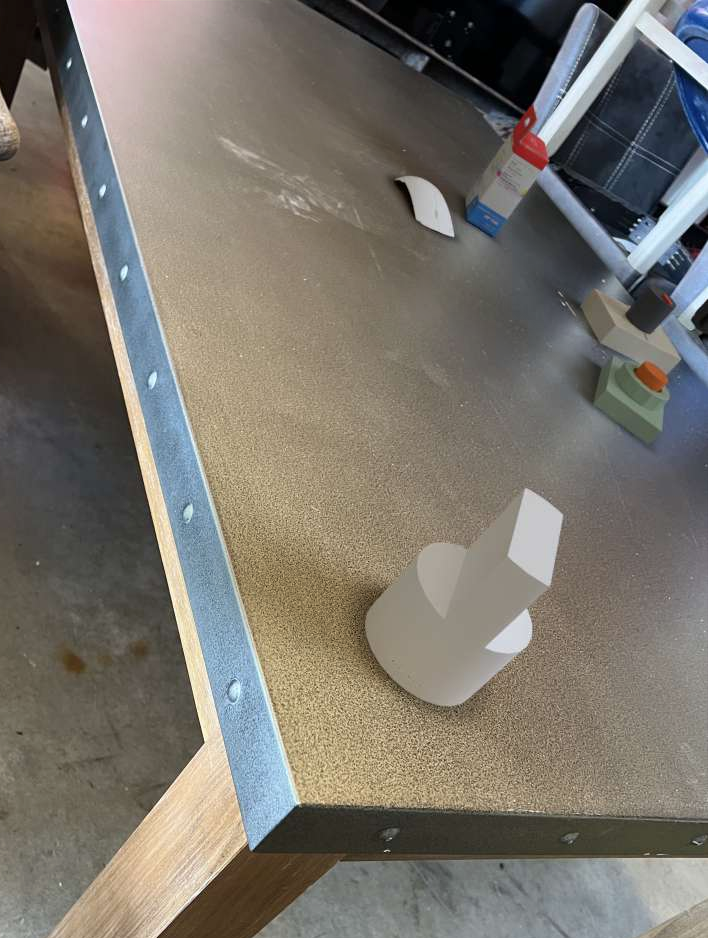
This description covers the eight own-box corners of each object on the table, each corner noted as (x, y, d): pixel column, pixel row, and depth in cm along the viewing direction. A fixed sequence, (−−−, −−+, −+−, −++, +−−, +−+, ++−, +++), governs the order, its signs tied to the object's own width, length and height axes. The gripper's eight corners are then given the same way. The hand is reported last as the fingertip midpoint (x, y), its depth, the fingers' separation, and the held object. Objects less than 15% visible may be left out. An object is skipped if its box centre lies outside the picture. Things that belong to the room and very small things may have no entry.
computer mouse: (417, 223, 120) (428, 207, 119) (388, 173, 127) (398, 158, 126) (458, 241, 124) (469, 225, 122) (427, 191, 131) (437, 176, 129)
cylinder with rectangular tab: (463, 730, 62) (592, 619, 54) (349, 651, 62) (464, 527, 54) (484, 649, 69) (601, 540, 61) (382, 577, 69) (487, 458, 61)
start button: (634, 368, 114) (644, 356, 113) (658, 386, 115) (669, 375, 113) (632, 378, 112) (643, 367, 110) (657, 397, 112) (668, 386, 111)
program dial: (620, 308, 130) (646, 278, 127) (644, 319, 132) (670, 291, 128) (632, 326, 127) (659, 297, 124) (656, 338, 129) (683, 309, 126)
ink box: (494, 239, 132) (566, 141, 123) (464, 220, 131) (535, 119, 122) (492, 216, 138) (560, 121, 129) (463, 198, 137) (531, 101, 128)
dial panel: (643, 339, 136) (659, 321, 134) (665, 376, 130) (682, 358, 128) (579, 305, 132) (595, 287, 130) (599, 343, 126) (616, 323, 124)
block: (601, 368, 120) (624, 343, 117) (652, 406, 120) (676, 382, 118) (592, 404, 111) (617, 377, 108) (648, 445, 111) (674, 420, 108)
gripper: (885, 239, 94) (744, 374, 105) (823, 178, 103) (699, 308, 114) (836, 205, 91) (696, 348, 102) (776, 146, 100) (653, 283, 111)
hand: (698, 327), depth 108 cm, fingers closed
